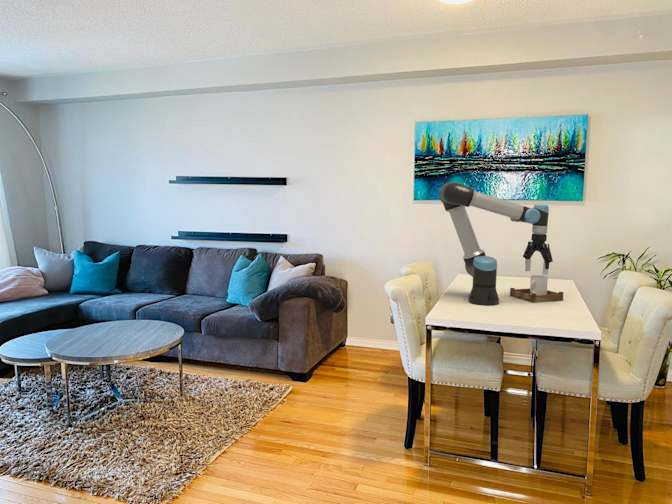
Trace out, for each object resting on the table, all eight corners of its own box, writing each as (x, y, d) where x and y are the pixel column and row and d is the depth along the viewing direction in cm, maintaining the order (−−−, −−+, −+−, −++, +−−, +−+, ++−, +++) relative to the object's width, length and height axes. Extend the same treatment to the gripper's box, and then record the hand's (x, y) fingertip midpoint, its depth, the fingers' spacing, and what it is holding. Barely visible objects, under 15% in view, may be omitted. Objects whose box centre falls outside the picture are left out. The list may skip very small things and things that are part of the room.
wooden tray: (509, 295, 286) (510, 287, 285) (538, 294, 292) (538, 286, 292) (533, 302, 268) (533, 294, 267) (562, 300, 274) (563, 292, 274)
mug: (522, 296, 280) (523, 276, 279) (535, 293, 287) (536, 274, 286) (536, 298, 273) (537, 278, 272) (549, 296, 280) (551, 276, 279)
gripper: (518, 231, 287) (515, 269, 289) (550, 235, 263) (547, 276, 266) (529, 231, 289) (526, 269, 291) (562, 235, 266) (558, 276, 268)
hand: (536, 273), depth 278 cm, fingers open, 13 cm apart
